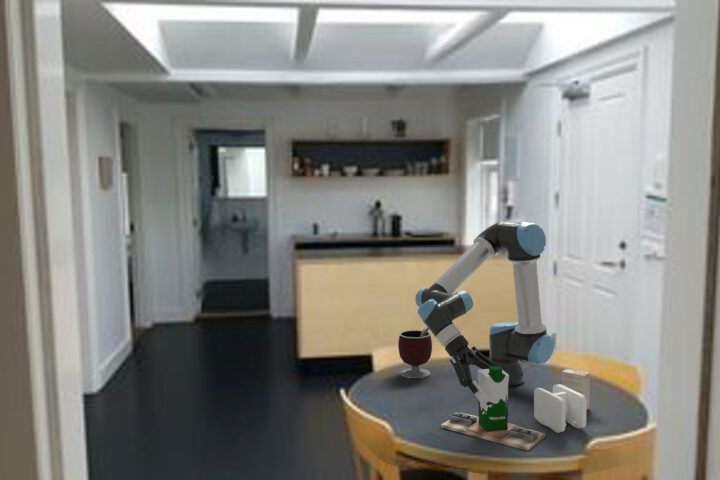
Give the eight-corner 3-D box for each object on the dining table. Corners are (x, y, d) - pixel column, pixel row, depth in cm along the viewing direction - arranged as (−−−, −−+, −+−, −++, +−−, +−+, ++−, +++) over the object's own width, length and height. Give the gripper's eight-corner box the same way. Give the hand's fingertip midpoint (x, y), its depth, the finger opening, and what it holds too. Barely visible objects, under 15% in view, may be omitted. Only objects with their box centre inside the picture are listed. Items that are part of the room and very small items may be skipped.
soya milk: (485, 433, 197) (485, 371, 195) (474, 422, 206) (474, 362, 204) (511, 430, 198) (511, 368, 196) (500, 420, 207) (500, 360, 205)
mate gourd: (410, 381, 253) (409, 332, 251) (392, 372, 266) (391, 325, 264) (442, 375, 261) (441, 327, 259) (423, 366, 273) (423, 321, 271)
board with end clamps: (441, 427, 206) (441, 418, 206) (461, 415, 216) (461, 406, 216) (528, 450, 187) (528, 441, 187) (545, 436, 198) (545, 427, 197)
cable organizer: (531, 419, 212) (531, 385, 210) (557, 414, 215) (558, 381, 214) (560, 436, 198) (561, 400, 196) (588, 430, 201) (588, 395, 200)
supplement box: (590, 409, 220) (590, 372, 219) (583, 412, 216) (584, 375, 215) (567, 403, 226) (568, 367, 224) (561, 407, 222) (561, 370, 221)
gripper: (464, 339, 219) (504, 389, 212) (425, 356, 200) (467, 412, 192) (478, 326, 216) (519, 377, 208) (439, 342, 196) (483, 399, 188)
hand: (494, 394), depth 200 cm, fingers open, 13 cm apart
